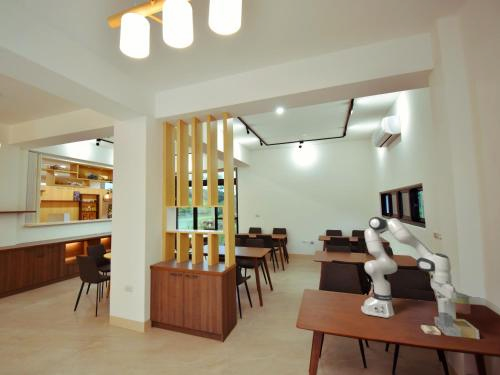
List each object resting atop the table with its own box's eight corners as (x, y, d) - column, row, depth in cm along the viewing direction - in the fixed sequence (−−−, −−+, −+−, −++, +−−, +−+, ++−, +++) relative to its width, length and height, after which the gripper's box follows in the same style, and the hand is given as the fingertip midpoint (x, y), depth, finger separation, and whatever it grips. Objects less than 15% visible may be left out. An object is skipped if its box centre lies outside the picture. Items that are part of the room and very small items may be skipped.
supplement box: (456, 320, 164) (455, 301, 165) (444, 319, 165) (443, 301, 166) (450, 315, 171) (448, 297, 172) (438, 315, 172) (437, 297, 173)
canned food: (450, 307, 185) (448, 291, 186) (469, 310, 179) (467, 294, 180) (451, 312, 176) (450, 295, 177) (472, 316, 170) (470, 299, 171)
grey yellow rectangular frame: (446, 335, 145) (445, 326, 146) (435, 324, 159) (434, 316, 159) (479, 339, 141) (478, 330, 141) (465, 327, 155) (464, 319, 155)
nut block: (444, 323, 150) (443, 315, 150) (439, 320, 155) (438, 312, 155) (453, 324, 149) (452, 315, 149) (447, 320, 154) (447, 312, 154)
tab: (425, 333, 148) (425, 330, 148) (421, 328, 155) (420, 324, 155) (440, 335, 146) (440, 331, 146) (435, 329, 153) (435, 326, 153)
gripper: (459, 285, 143) (460, 308, 142) (438, 274, 163) (439, 295, 162) (447, 284, 144) (448, 307, 143) (428, 274, 164) (429, 294, 163)
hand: (443, 301), depth 153 cm, fingers open, 8 cm apart
